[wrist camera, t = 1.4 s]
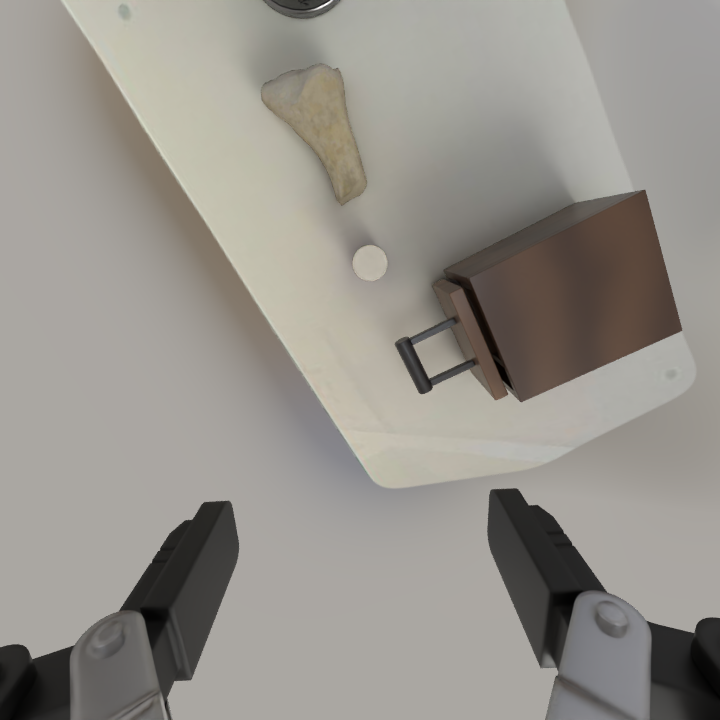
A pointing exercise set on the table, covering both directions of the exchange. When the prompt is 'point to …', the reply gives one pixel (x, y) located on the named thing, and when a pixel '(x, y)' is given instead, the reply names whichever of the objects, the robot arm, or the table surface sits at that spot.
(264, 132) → the table surface
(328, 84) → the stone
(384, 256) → the glue stick
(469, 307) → the drawer
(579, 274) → the cabinet
